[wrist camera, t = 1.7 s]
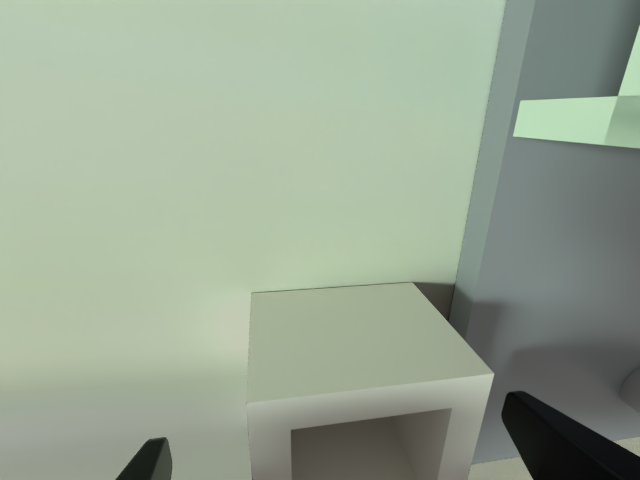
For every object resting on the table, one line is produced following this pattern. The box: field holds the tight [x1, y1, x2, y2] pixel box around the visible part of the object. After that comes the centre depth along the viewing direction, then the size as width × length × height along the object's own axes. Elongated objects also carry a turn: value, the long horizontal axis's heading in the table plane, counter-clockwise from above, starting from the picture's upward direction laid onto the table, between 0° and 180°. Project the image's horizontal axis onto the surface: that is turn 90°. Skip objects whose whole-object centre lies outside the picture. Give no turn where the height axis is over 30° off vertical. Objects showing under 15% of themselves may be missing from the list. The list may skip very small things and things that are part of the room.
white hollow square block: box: [246, 282, 494, 480], centre depth 9 cm, size 5×5×4 cm
